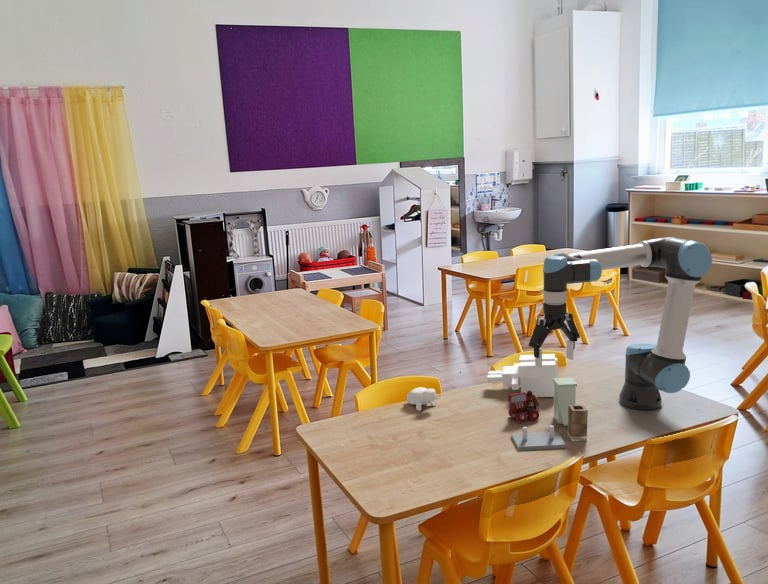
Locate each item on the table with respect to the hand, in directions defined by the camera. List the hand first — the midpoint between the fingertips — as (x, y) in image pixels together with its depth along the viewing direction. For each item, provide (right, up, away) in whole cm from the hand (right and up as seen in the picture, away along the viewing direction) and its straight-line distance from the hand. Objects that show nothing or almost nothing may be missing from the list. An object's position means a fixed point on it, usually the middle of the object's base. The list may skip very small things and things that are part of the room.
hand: (554, 362), depth 222 cm
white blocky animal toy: (-43, -21, +32) cm, 58 cm away
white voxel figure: (-1, -17, +44) cm, 47 cm away
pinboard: (-6, -27, -2) cm, 28 cm away
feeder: (+7, -23, +12) cm, 27 cm away
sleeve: (+8, -26, 0) cm, 27 cm away
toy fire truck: (-7, -23, +17) cm, 29 cm away
